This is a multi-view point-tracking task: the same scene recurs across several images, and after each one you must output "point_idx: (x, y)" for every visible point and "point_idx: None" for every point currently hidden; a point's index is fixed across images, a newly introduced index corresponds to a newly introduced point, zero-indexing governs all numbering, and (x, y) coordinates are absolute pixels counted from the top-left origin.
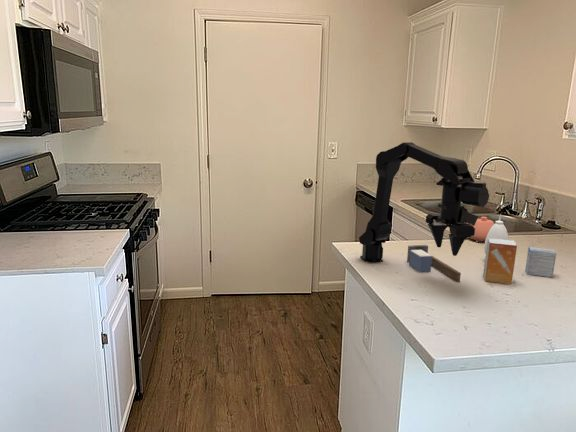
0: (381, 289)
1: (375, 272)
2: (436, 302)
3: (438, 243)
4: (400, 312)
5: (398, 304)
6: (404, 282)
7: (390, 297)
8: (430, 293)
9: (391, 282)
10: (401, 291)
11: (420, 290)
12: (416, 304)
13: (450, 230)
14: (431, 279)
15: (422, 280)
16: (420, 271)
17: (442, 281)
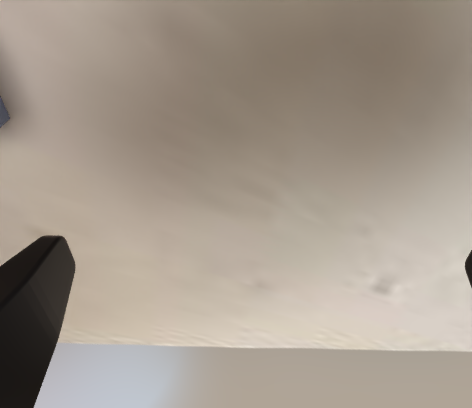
0: (256, 333)
1: None
2: (452, 228)
3: (51, 309)
4: (449, 341)
5: (395, 330)
6: (192, 252)
7: (333, 332)
8: (353, 208)
9: (188, 291)
10: (292, 292)
11: (304, 231)
12: (425, 292)
13: None
14: (150, 107)
15: (167, 166)
16: (4, 116)
17: (192, 49)
